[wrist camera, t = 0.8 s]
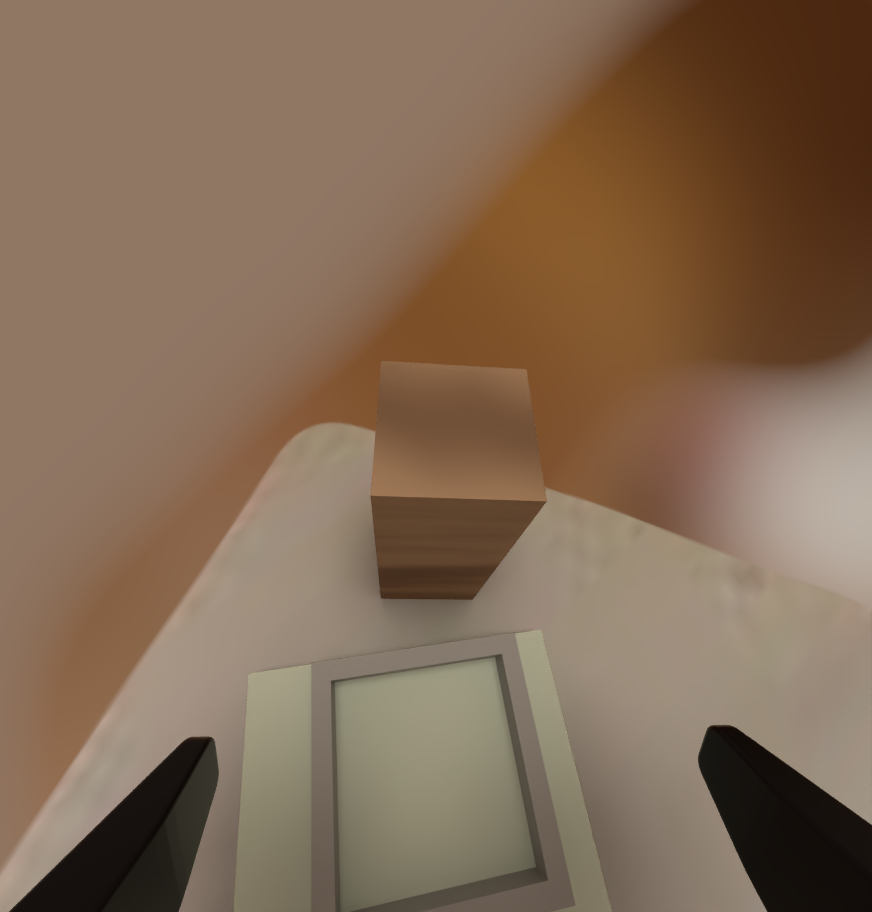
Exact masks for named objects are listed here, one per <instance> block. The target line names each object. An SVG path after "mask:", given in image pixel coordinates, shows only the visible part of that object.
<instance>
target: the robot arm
mask: <svg viewBox="0 0 872 912" xmlns="http://www.w3.org/2000/svg"><path fill="white" fill-rule="evenodd" d="M698 763H699V768H700V771H701V773H702V776H703V778H704V780H705V782H706V785H707V787H708V789H709V791H710V793H711V796H712V798H713V800H714V802H715V804H716V807H717V809H718V811H719V813H720V816H721V818H722V820H723V822H724V824H725V827H726V829H727V831H728V833H729V835H730V838H731V840H732V842H733V844H734V847H735V849H736V851H737V853H738V855H739V857H740V860H741V862H742V864H743V866H744V868H745V870H746V872H747V874H748V876H749V878H750V880H751V882H752V884H753V886H754V888H755V890H756V892H757V893H758V895H759V897H760V899H761V901H762V903H763V904H764V906H765V908H766V910H767V912H872V825H871V824H870V823H868V822H867V821H866V820H864V819H863V818H861V817H860V816H859V815H857V814H856V813H854V812H853V811H852V810H850V809H849V808H847V807H846V806H845V805H843V804H842V803H840V802H839V801H838V800H836V799H835V798H833V797H832V796H831V795H829V794H828V793H826V792H825V791H824V790H822V789H821V788H819V787H818V786H817V785H815V784H814V783H812V782H811V781H810V780H808V779H807V778H806V777H804V776H803V775H801V774H800V773H799V772H797V771H796V770H794V769H793V768H792V767H790V766H789V765H787V764H786V763H785V762H783V761H782V760H780V759H779V758H778V757H776V756H775V755H773V754H772V753H771V752H769V751H768V750H766V749H765V748H764V747H762V746H761V745H759V744H758V743H757V742H755V741H754V740H752V739H751V738H750V737H748V736H747V735H745V734H744V733H743V732H741V731H740V730H738V729H737V728H735V727H733V726H730V725H712V726H710V727H708V729H707V731H706V734H705V737H704V740H703V743H702V746H701V749H700V752H699V755H698ZM218 776H219V769H218V761H217V754H216V747H215V741H214V739H213V738H212V737H190V738H188V739H186V740H184V741H183V742H182V743H181V744H180V745H179V746H178V747H177V748H176V749H175V750H174V751H173V752H172V753H171V754H170V755H169V756H168V757H167V758H166V759H165V760H164V761H163V762H162V763H161V764H160V765H158V766H157V767H156V768H155V769H154V770H153V771H152V772H151V773H150V774H149V775H148V776H147V777H146V778H145V779H144V780H143V781H142V782H141V783H140V784H139V785H138V786H137V787H136V788H135V789H134V790H133V791H132V792H131V793H130V794H129V795H128V796H127V797H126V798H125V799H124V800H123V801H122V802H121V803H120V804H119V805H118V806H117V807H116V808H115V809H114V810H112V811H111V812H110V813H109V814H108V815H107V816H106V817H105V818H104V819H103V820H102V821H101V822H100V823H99V824H98V825H97V826H96V827H95V828H94V829H93V830H92V831H91V832H90V833H89V834H88V835H87V836H86V837H85V838H84V839H83V840H82V841H81V842H80V843H79V844H78V845H77V846H76V847H75V848H74V849H73V850H72V851H71V852H70V853H69V854H68V855H66V856H65V857H64V858H63V859H62V860H61V861H60V862H59V863H58V864H57V865H56V866H55V867H54V868H53V869H52V870H51V871H50V872H49V873H48V874H47V875H46V876H45V877H44V878H43V879H42V880H41V881H40V882H39V883H38V884H37V885H36V886H35V887H34V888H33V889H32V890H31V891H30V892H29V893H28V894H27V895H26V896H25V897H24V898H23V899H22V900H20V901H19V902H18V903H17V904H16V905H15V906H14V907H13V908H12V909H11V910H10V911H9V912H178V911H179V909H180V906H181V903H182V900H183V897H184V894H185V890H186V887H187V884H188V881H189V877H190V874H191V871H192V867H193V864H194V861H195V857H196V854H197V851H198V847H199V844H200V841H201V837H202V834H203V830H204V827H205V824H206V820H207V817H208V814H209V810H210V807H211V804H212V800H213V797H214V794H215V790H216V787H217V782H218Z"/></svg>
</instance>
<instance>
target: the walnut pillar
mask: <svg viewBox="0 0 872 912" xmlns="http://www.w3.org/2000/svg"><path fill="white" fill-rule="evenodd" d="M546 502H547V500H546V493H545V487H544V481H543V475H542V468H541V461H540V454H539V448H538V442H537V435H536V428H535V422H534V415H533V409H532V402H531V396H530V389H529V383H528V376H527V370H526V369H511V368H494V367H476V366H475V367H474V366H459V365H440V364H424V363H407V362H388V361H382V362H381V372H380V385H379V397H378V410H377V423H376V435H375V447H374V460H373V473H372V485H371V504H372V514H373V524H374V534H375V543H376V553H377V563H378V573H379V583H380V593H381V598H390V599H471V600H472V599H473V598H474V597H475V596H476V594H477V593H478V592H479V590H480V589H481V588H482V586H483V585H484V584H485V582H486V581H487V580H488V578H489V577H490V576H491V574H492V573H493V572H494V570H495V569H496V568H497V566H498V565H499V564H500V562H501V561H502V560H503V558H504V557H505V556H506V555H507V553H508V552H509V551H510V549H511V548H512V547H513V545H514V544H515V543H516V541H517V540H518V539H519V537H520V536H521V535H522V533H523V532H524V531H525V529H526V528H527V527H528V525H529V524H530V523H531V521H532V520H533V519H534V517H535V516H536V515H537V514H538V512H539V511H540V510H541V508H542V507H543V506H544V504H545V503H546Z"/></svg>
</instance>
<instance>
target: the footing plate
mask: <svg viewBox="0 0 872 912" xmlns="http://www.w3.org/2000/svg"><path fill="white" fill-rule="evenodd" d="M233 912H612V909H611V905H610V901H609V897H608V893H607V889H606V885H605V881H604V877H603V873H602V869H601V865H600V861H599V857H598V853H597V849H596V845H595V841H594V837H593V834H592V830H591V826H590V822H589V818H588V814H587V810H586V806H585V802H584V798H583V794H582V790H581V786H580V782H579V778H578V774H577V770H576V766H575V762H574V758H573V754H572V750H571V747H570V743H569V739H568V735H567V731H566V727H565V723H564V719H563V715H562V711H561V707H560V703H559V699H558V695H557V691H556V687H555V683H554V679H553V675H552V671H551V667H550V664H549V660H548V656H547V652H546V648H545V644H544V640H543V636H542V632H541V630H536V631H529V632H522V633H516V634H515V633H508V634H501V635H495V636H488V637H481V638H475V639H468V640H461V641H455V642H448V643H441V644H435V645H428V646H421V647H415V648H408V649H401V650H395V651H388V652H381V653H375V654H368V655H361V656H355V657H348V658H341V659H335V660H328V661H321V662H315V663H311V664H310V665H303V666H296V667H290V668H283V669H277V670H270V671H263V672H257V673H250V674H249V679H248V694H247V709H246V724H245V739H244V754H243V769H242V785H241V800H240V815H239V830H238V845H237V860H236V875H235V891H234V906H233Z"/></svg>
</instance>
